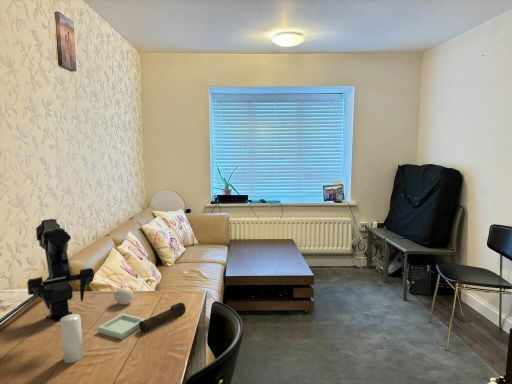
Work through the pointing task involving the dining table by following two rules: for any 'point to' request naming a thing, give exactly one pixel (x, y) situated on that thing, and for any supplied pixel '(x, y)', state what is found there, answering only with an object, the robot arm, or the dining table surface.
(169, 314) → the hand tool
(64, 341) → the white rounded tapered cylinder
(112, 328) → the tray
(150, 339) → the dining table surface
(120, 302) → the white ball
